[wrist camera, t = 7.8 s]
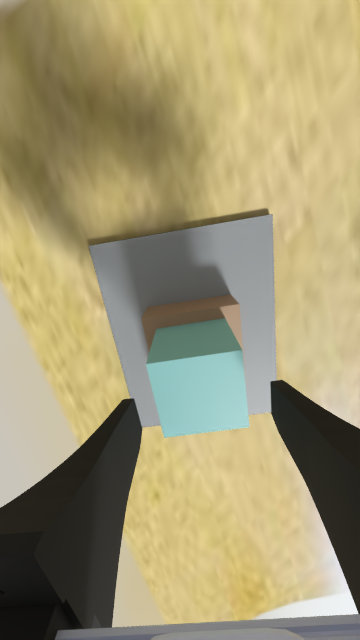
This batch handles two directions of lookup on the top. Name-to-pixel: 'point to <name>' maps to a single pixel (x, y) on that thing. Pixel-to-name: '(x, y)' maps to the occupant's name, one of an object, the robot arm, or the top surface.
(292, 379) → the top surface
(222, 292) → the build base
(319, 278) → the top surface
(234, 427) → the teal block
